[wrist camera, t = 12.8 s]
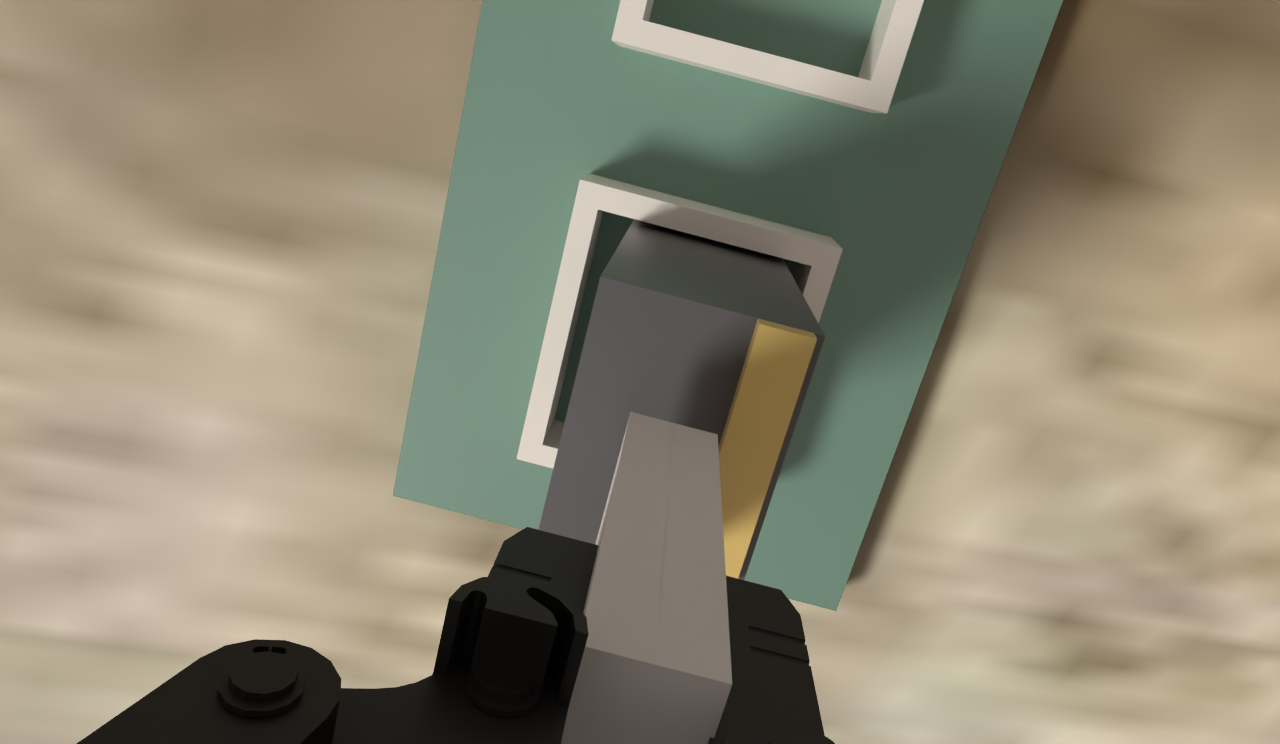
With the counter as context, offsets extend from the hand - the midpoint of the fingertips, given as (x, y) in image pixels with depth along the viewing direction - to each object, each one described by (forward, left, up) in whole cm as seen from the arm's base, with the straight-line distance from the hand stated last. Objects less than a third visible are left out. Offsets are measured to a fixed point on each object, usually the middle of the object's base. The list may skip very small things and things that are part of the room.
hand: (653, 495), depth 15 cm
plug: (-1, 0, -10) cm, 10 cm away
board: (-5, 0, -11) cm, 12 cm away
